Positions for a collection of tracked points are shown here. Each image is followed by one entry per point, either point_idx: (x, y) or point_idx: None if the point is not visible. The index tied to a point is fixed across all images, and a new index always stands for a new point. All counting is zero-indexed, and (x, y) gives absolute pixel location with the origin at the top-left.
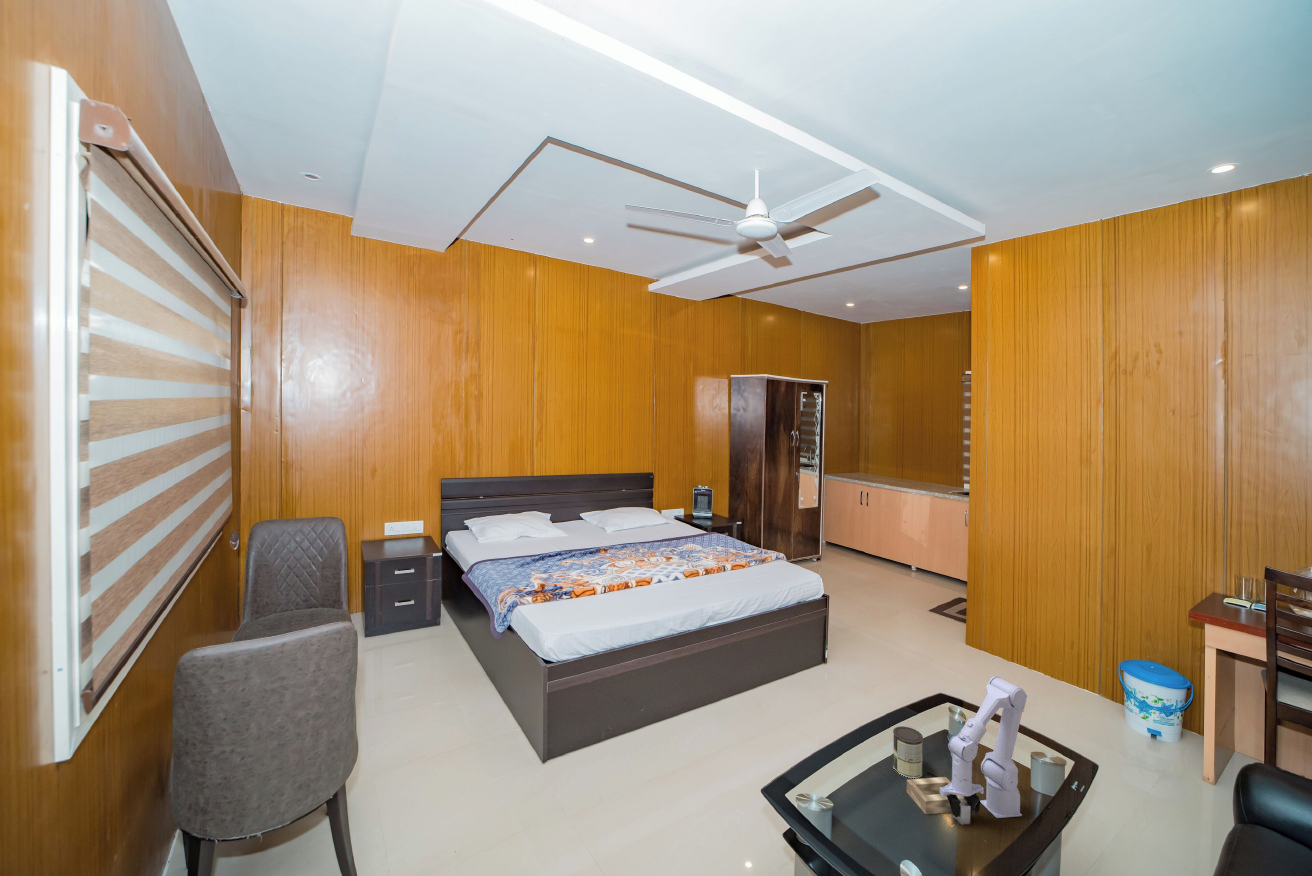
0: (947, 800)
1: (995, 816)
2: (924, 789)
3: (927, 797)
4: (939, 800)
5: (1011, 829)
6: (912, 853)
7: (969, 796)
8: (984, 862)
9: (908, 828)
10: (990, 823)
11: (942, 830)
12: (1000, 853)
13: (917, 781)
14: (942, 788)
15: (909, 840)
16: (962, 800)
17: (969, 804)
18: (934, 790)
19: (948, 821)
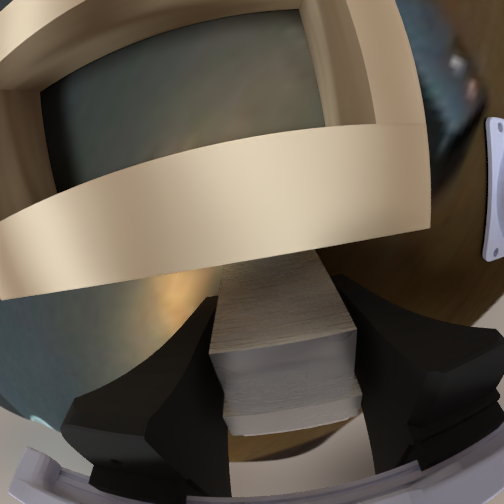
0: (170, 269)
1: (484, 254)
2: (64, 46)
3: (4, 255)
4: (83, 286)
5: (477, 318)
6: (43, 410)
7: (388, 462)
8: (242, 457)
9: (12, 337)
10: (432, 296)
11: (124, 362)
12: (329, 433)
13: (1, 30)
14: (32, 499)
15: (26, 379)
16: (297, 427)
17: (364, 387)
18: (167, 9)
19: (173, 307)
